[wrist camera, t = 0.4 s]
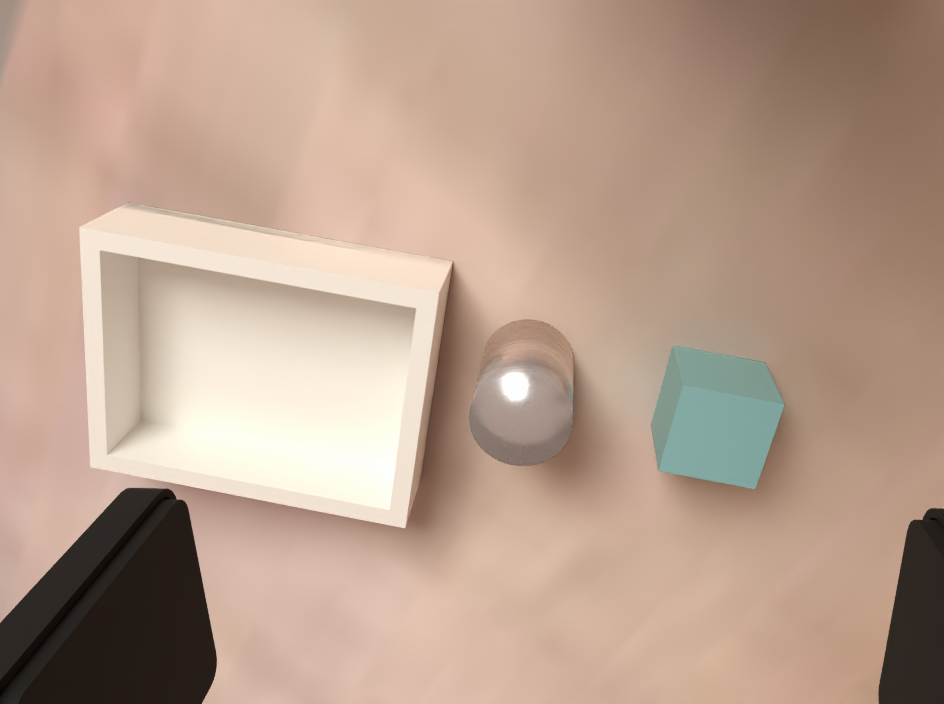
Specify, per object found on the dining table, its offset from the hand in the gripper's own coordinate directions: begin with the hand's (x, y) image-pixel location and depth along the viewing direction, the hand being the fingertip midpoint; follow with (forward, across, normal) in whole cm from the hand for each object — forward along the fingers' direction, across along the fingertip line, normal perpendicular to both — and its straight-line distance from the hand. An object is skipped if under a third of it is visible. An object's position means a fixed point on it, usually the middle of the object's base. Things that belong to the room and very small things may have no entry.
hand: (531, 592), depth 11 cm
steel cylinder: (+35, +2, +11) cm, 36 cm away
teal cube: (+35, -8, +13) cm, 38 cm away
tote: (+34, +16, +11) cm, 39 cm away
